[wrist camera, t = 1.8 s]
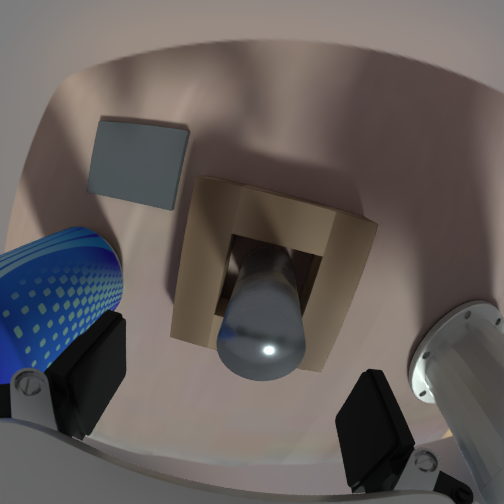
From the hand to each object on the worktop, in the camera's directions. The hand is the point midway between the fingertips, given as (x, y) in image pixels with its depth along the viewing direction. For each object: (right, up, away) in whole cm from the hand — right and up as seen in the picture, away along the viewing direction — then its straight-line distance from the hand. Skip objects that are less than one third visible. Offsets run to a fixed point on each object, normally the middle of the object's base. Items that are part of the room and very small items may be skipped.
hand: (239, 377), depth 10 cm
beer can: (-14, +3, +13) cm, 20 cm away
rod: (+2, +3, +12) cm, 12 cm away
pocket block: (+2, +3, +12) cm, 12 cm away
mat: (-9, +12, +10) cm, 18 cm away
